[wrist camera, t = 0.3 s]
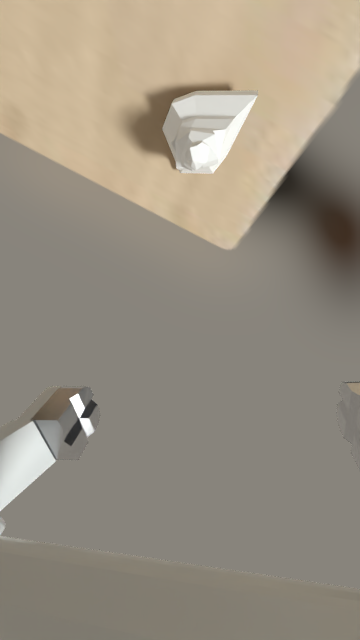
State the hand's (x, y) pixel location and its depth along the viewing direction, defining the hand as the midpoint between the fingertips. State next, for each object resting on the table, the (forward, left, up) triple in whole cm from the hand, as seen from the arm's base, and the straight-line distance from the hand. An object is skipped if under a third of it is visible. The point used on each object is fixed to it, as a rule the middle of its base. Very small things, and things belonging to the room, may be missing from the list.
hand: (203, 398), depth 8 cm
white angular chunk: (+1, -1, -52) cm, 52 cm away
